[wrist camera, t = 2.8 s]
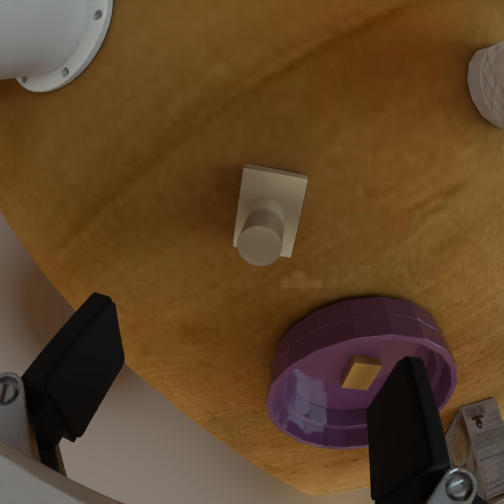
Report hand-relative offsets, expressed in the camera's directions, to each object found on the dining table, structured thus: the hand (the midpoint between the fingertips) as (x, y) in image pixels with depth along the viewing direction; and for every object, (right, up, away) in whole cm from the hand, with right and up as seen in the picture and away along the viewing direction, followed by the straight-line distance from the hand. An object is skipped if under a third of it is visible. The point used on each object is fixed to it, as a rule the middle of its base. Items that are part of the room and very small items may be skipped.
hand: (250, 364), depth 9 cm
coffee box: (+32, -21, +24) cm, 45 cm away
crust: (+11, -8, +20) cm, 24 cm away
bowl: (+11, -8, +20) cm, 25 cm away
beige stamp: (+2, +7, +14) cm, 16 cm away
